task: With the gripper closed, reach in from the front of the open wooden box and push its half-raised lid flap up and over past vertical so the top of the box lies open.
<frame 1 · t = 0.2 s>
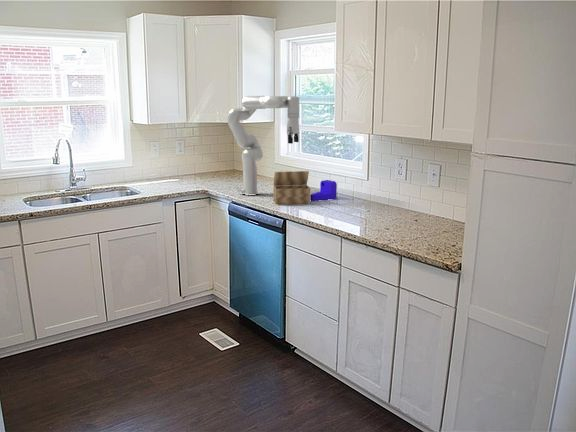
hand: (293, 142, 343), 37 cm above the worktop, tool pointing down, fingers open, 9 cm apart
open wooden box: (291, 202, 340), on the worktop
lid flap: (290, 178, 339), point 15 cm above the worktop, hinge at 55.0°
bracket: (321, 199, 350), on the worktop
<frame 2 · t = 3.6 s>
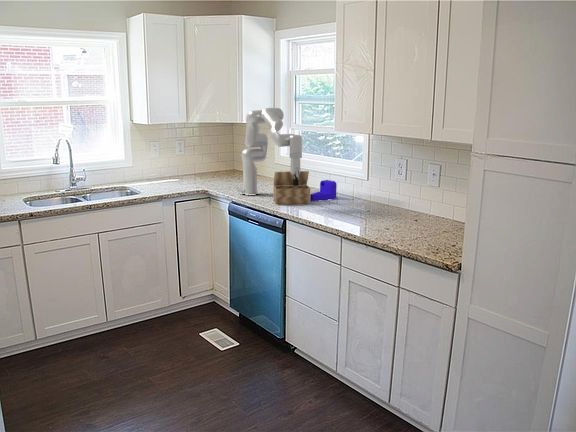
hand: (295, 185, 322), 14 cm above the worktop, tool pointing down, fingers closed
nothing on the worktop moved.
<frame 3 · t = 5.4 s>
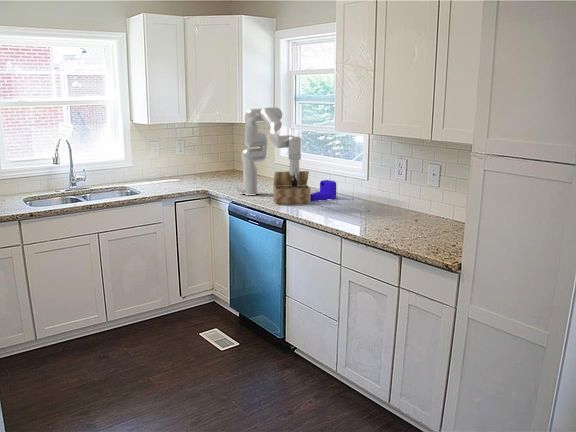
hand: (294, 186, 326), 12 cm above the worktop, tool pointing down, fingers closed
nothing on the worktop moved.
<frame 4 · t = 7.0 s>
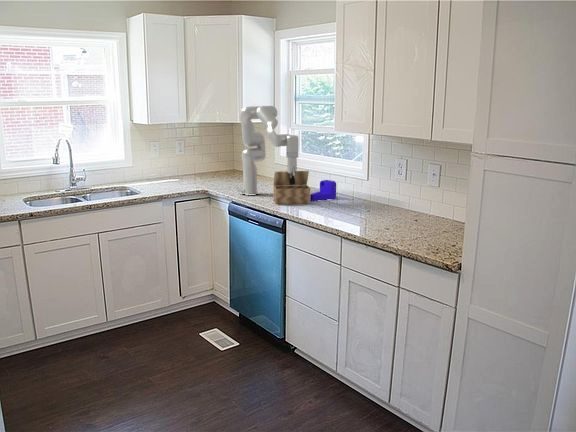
hand: (292, 183, 334), 13 cm above the worktop, tool pointing down, fingers closed
lid flap: (290, 178, 339), point 15 cm above the worktop, hinge at 56.0°, touching gripper
everything else where it was.
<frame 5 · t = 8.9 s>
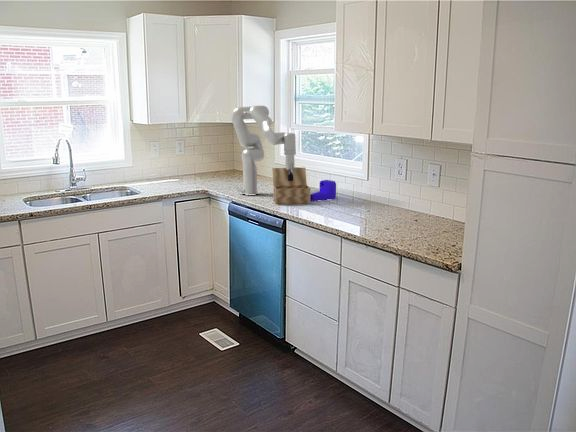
hand: (290, 180, 343), 13 cm above the worktop, tool pointing down, fingers closed
lid flap: (289, 176, 345), point 15 cm above the worktop, hinge at 116.6°, touching gripper
everything else where it was.
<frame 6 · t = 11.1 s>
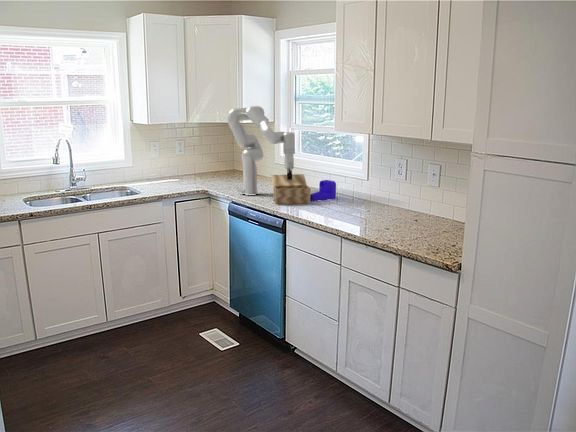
hand: (289, 179, 348), 13 cm above the worktop, tool pointing down, fingers closed
lid flap: (288, 180, 348), point 13 cm above the worktop, hinge at 153.0°, touching gripper
everything else where it was.
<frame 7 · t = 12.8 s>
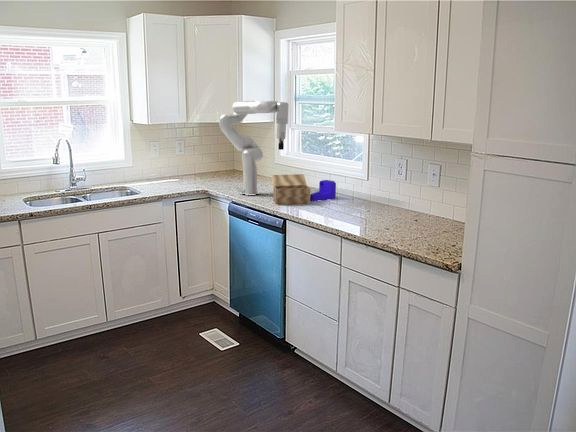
hand: (280, 149, 348), 32 cm above the worktop, tool pointing down, fingers closed
lid flap: (288, 180, 348), point 13 cm above the worktop, hinge at 153.1°
everything else where it was.
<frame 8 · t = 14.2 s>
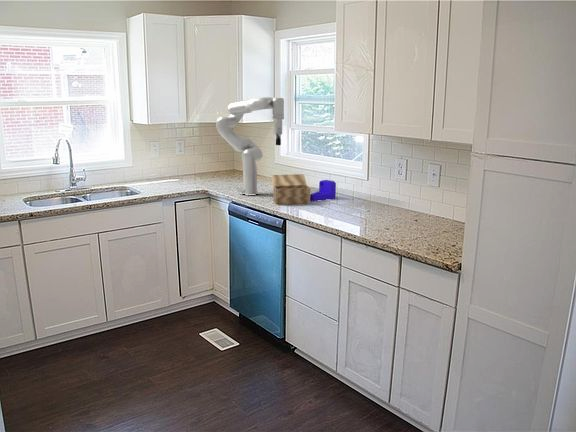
hand: (278, 145, 349), 35 cm above the worktop, tool pointing down, fingers closed
nothing on the worktop moved.
at the end: lid flap at +153° (first picture: +55°); bracket moved 0.6 cm from its start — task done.
